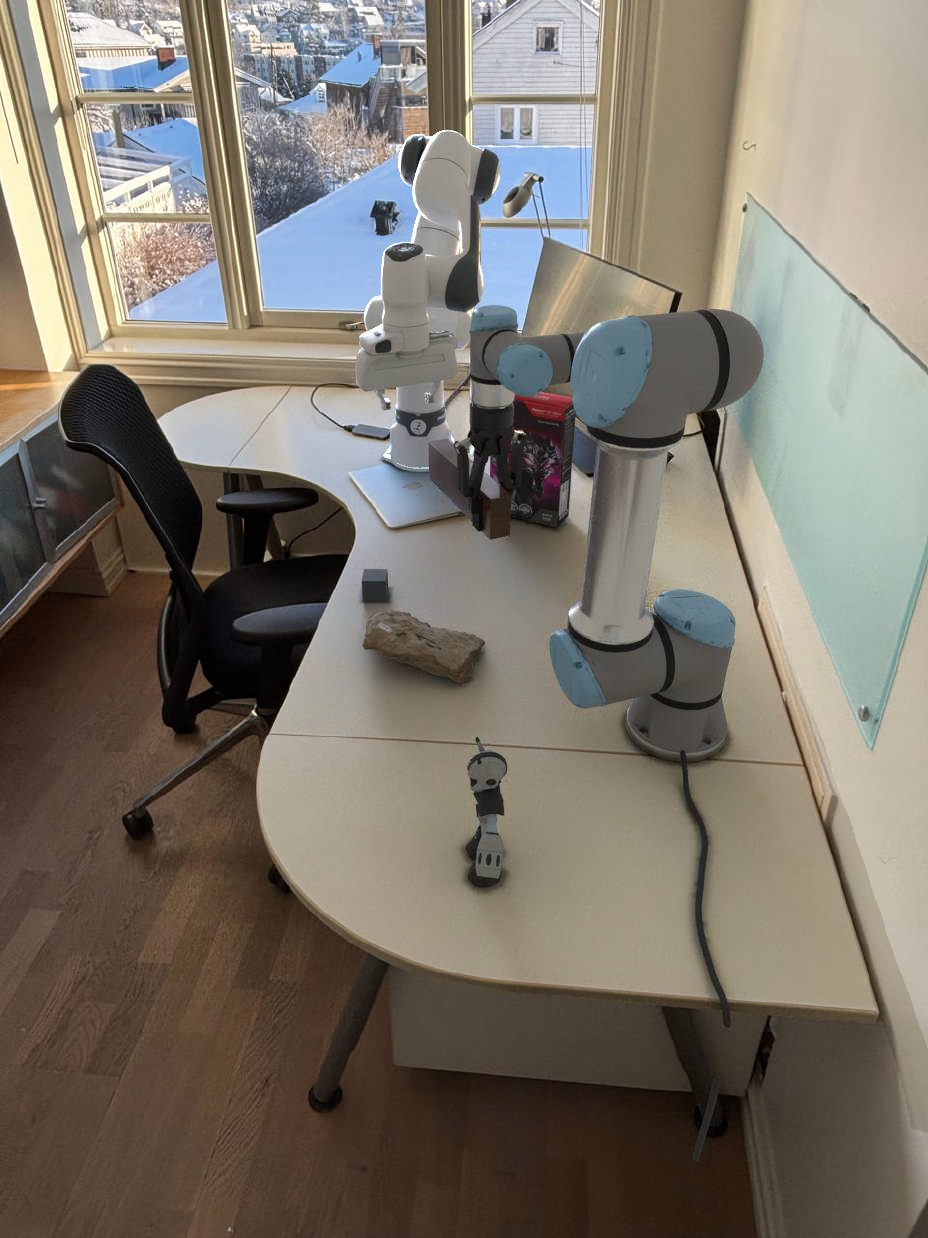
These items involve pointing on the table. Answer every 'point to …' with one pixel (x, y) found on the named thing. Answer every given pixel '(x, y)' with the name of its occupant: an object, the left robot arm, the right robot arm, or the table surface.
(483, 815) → the robot
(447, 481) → the walnut bar
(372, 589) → the slate cube
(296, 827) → the table surface
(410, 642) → the stone
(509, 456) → the graphics card box
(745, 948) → the table surface
